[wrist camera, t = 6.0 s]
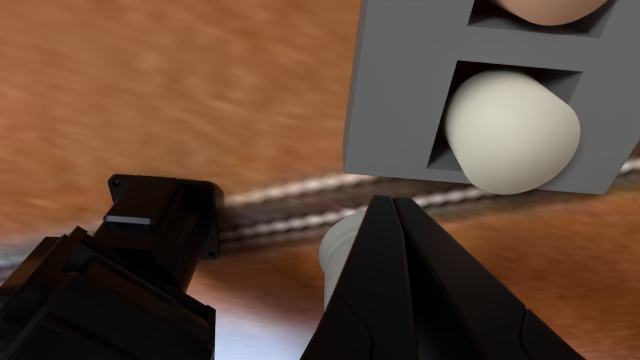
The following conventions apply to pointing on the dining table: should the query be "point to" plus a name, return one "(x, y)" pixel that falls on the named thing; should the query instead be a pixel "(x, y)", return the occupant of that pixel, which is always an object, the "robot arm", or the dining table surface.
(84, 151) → the dining table surface
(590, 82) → the console
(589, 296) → the dining table surface
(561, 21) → the terracotta button
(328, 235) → the grey handled cylinder
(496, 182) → the cream button
